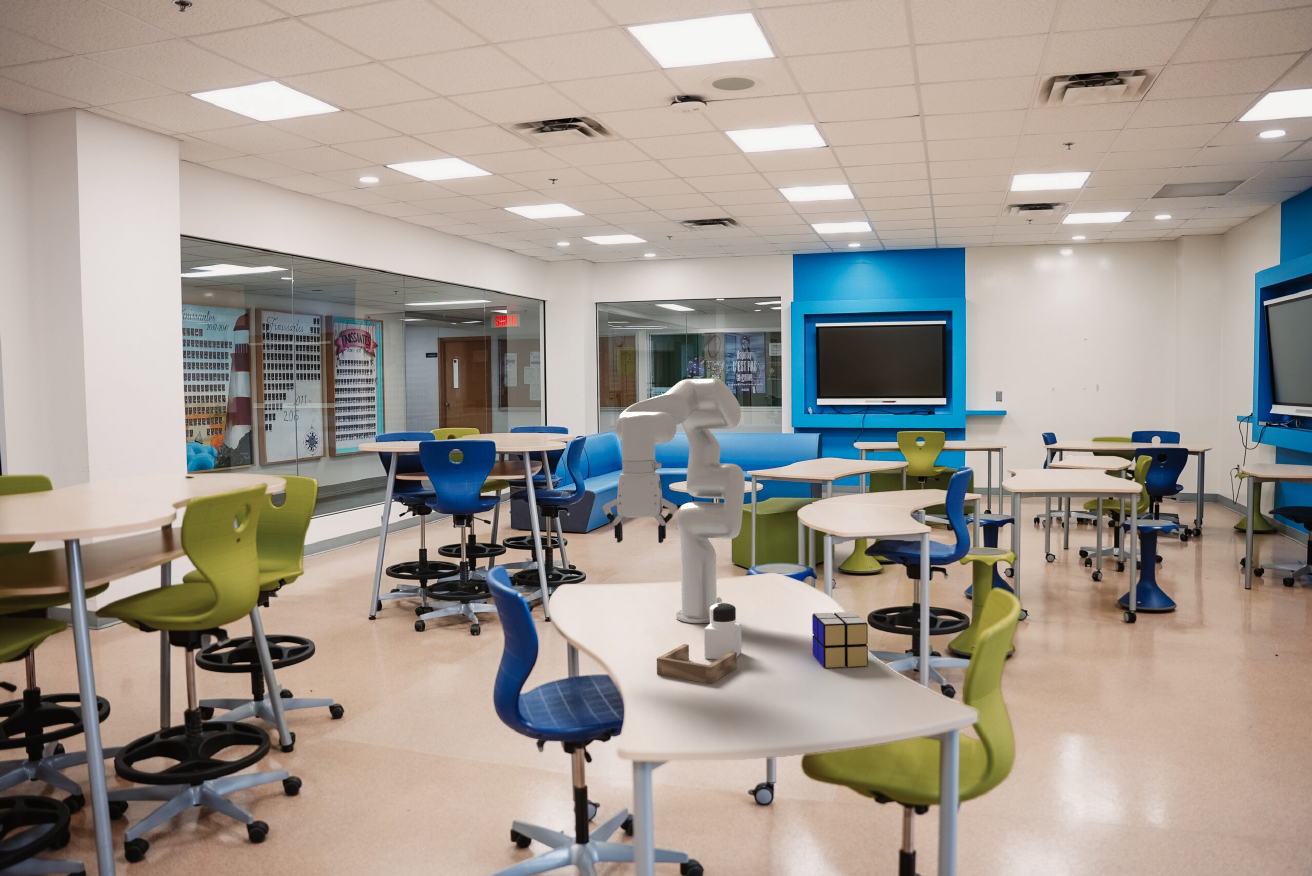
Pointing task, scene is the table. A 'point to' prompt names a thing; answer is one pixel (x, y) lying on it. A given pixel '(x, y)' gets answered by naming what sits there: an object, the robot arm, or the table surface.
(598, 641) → the table surface
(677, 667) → the bay
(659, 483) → the robot arm
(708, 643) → the medicine bottle
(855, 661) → the puzzle cube
